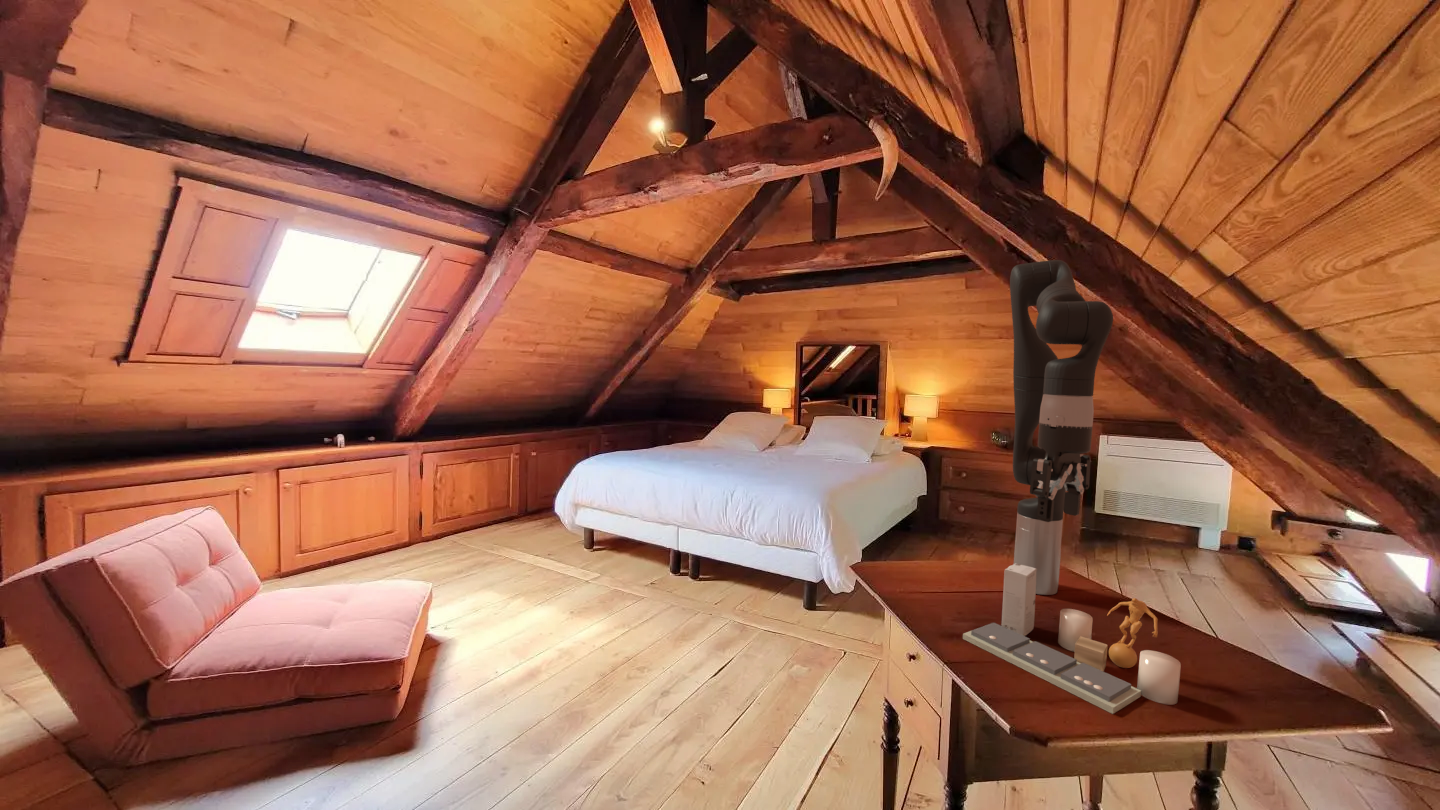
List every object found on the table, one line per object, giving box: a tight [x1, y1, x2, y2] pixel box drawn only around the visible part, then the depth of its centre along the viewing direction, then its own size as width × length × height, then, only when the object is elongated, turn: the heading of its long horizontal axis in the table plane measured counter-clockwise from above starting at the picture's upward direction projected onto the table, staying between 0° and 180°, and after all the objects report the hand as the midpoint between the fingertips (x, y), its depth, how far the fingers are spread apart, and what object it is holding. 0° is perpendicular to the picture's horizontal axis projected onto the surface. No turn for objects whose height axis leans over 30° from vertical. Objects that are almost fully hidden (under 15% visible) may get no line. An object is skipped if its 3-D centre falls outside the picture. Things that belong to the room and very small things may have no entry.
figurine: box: [1106, 597, 1159, 669], centre depth 94 cm, size 8×6×12 cm
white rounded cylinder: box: [1057, 608, 1093, 653], centre depth 100 cm, size 5×5×6 cm
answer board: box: [962, 622, 1142, 715], centre depth 93 cm, size 9×25×2 cm, turn 31°
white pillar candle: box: [1136, 649, 1182, 706], centre depth 86 cm, size 5×5×6 cm
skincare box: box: [1001, 563, 1037, 637], centre depth 106 cm, size 6×4×12 cm
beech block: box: [1073, 636, 1109, 672], centre depth 94 cm, size 4×4×4 cm
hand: (1058, 517), depth 91 cm, fingers open, 8 cm apart
